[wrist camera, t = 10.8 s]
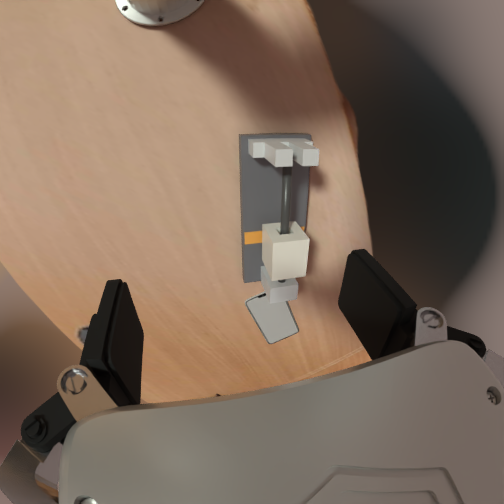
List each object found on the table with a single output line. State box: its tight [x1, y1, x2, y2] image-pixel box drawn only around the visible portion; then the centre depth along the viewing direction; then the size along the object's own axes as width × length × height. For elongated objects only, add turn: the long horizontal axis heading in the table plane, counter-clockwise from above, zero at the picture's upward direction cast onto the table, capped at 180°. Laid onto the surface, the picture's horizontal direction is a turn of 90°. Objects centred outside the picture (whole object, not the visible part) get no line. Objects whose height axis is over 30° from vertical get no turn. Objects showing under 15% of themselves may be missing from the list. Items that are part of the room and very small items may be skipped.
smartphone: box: [245, 291, 299, 344], centre depth 56 cm, size 7×1×15 cm
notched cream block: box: [262, 221, 310, 281], centre depth 40 cm, size 6×5×6 cm
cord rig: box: [239, 133, 319, 304], centre depth 40 cm, size 24×10×10 cm, turn 1°
